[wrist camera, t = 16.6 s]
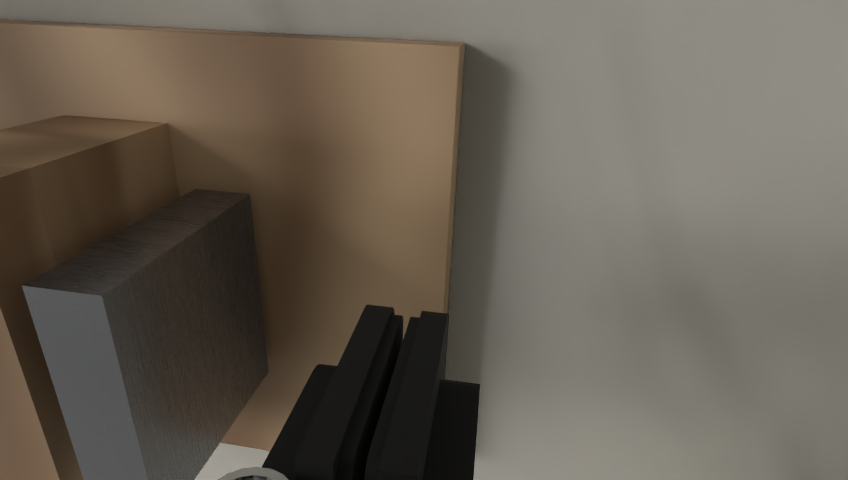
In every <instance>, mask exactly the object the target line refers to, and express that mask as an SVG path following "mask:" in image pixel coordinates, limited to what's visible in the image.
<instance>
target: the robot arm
mask: <svg viewBox="0 0 848 480" xmlns="http://www.w3.org/2000/svg"><path fill="white" fill-rule="evenodd" d="M448 322H449V314H447V313H438V312H430V311H422V312H421V315H420V318H419V317H410V320H409V323H408V326H407V329H406V333H405V336H404V339H403V316H402V315H395V312H394V308H393V307H386V306H377V305H366V306H365V308H364V310H363V312H362V314H361V316H360V318H359V321H358V323H357V325H356V327H355V329H354V331H353V333H352V336H351V338H350V340H349V342H348V344H347V346H346V348H345V350H344V353H343V355H342V357H341V359H340V361H339V363H338V365H337V366H333V365H325V364H318V365H317V366H316V367H315V368H314V370H313V371H312V373H311V375H310V377H309V379H308V381H307V383H306V385H305V386H304V388H303V390H302V392H301V394H300V396H299V398H298V400H297V402H296V404H295V405H294V407H293V409H292V411H291V413H290V415H289V417H288V419H287V421H286V422H285V424H284V426H283V428H282V430H281V432H280V434H279V436H278V438H277V439H276V441H275V443H274V445H273V447H272V449H271V451H270V453H269V455H268V456H267V458H266V460H265V462H264V464H263V466H262V467H253V468H244V469H240V470H237V471H234V472H231V473H229V474H226V475H225V476H223V477H221V478H220V479H218V480H473V475H474V461H475V447H476V433H477V418H478V404H479V390H480V384H474V383H466V382H458V381H450V380H444V377H445V364H446V350H447V336H448Z"/></svg>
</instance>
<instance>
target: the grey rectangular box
mask: <svg viewBox="0 0 848 480" xmlns="http://www.w3.org/2000/svg"><path fill="white" fill-rule="evenodd" d="M22 288H23V291H24V294H25V297H26V300H27V304H28V307H29V310H30V313H31V316H32V319H33V322H34V326H35V329H36V332H37V335H38V338H39V341H40V344H41V348H42V351H43V354H44V357H45V360H46V363H47V366H48V370H49V373H50V376H51V379H52V382H53V385H54V388H55V392H56V395H57V398H58V401H59V404H60V407H61V410H62V414H63V417H64V420H65V423H66V426H67V429H68V432H69V436H70V439H71V442H72V445H73V448H74V451H75V454H76V458H77V461H78V464H79V467H80V470H81V473H82V476H83V480H194V479H195V478H196V476H197V475H198V474H199V472H200V471H201V469H202V468H203V466H204V465H205V463H206V462H207V461H208V459H209V458H210V456H211V455H212V453H213V452H214V450H215V449H216V448H217V446H218V445H219V443H220V442H221V440H222V439H223V437H224V436H225V434H226V433H227V432H228V430H229V429H230V427H231V426H232V424H233V423H234V421H235V420H236V419H237V417H238V416H239V414H240V413H241V411H242V410H243V408H244V407H245V406H246V404H247V403H248V401H249V400H250V398H251V397H252V395H253V394H254V393H255V391H256V390H257V388H258V387H259V385H260V384H261V382H262V381H263V379H264V378H265V377H266V375H267V374H268V372H269V369H268V360H267V350H266V341H265V331H264V322H263V312H262V303H261V293H260V284H259V274H258V265H257V255H256V246H255V236H254V227H253V217H252V208H251V198H250V194H246V193H235V192H225V191H214V190H204V189H194V190H192V191H191V192H189V193H187V194H185V195H183V196H182V197H180V198H178V199H176V200H175V201H173V202H171V203H169V204H167V205H166V206H164V207H162V208H160V209H158V210H157V211H155V212H153V213H151V214H149V215H148V216H146V217H144V218H142V219H140V220H139V221H137V222H135V223H133V224H131V225H130V226H128V227H126V228H124V229H122V230H121V231H119V232H117V233H115V234H113V235H112V236H110V237H108V238H106V239H104V240H103V241H101V242H99V243H97V244H96V245H94V246H92V247H90V248H88V249H87V250H85V251H83V252H81V253H79V254H78V255H76V256H74V257H72V258H70V259H69V260H67V261H65V262H63V263H61V264H60V265H58V266H56V267H54V268H52V269H51V270H49V271H47V272H45V273H43V274H42V275H40V276H38V277H36V278H34V279H33V280H31V281H29V282H27V283H25V284H24V285H22Z"/></svg>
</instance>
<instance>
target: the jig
mask: <svg viewBox="0 0 848 480" xmlns="http://www.w3.org/2000/svg"><path fill="white" fill-rule="evenodd" d="M464 57H465V43H458V42H438V41H418V40H398V39H378V38H358V37H338V36H318V35H298V34H278V33H258V32H239V31H219V30H199V29H179V28H159V27H139V26H119V25H99V24H79V23H59V22H39V21H19V20H0V480H83V476H82V473H81V470H80V467H79V464H78V461H77V458H76V454H75V451H74V448H73V445H72V442H71V439H70V436H69V432H68V429H67V426H66V423H65V420H64V417H63V414H62V410H61V407H60V404H59V401H58V398H57V395H56V392H55V388H54V385H53V382H52V379H51V376H50V373H49V370H48V366H47V363H46V360H45V357H44V354H43V351H42V348H41V344H40V341H39V338H38V335H37V332H36V329H35V326H34V322H33V319H32V316H31V313H30V310H29V307H28V304H27V300H26V297H25V294H24V291H23V288H22V285H24V284H25V283H27V282H29V281H31V280H33V279H34V278H36V277H38V276H40V275H42V274H43V273H45V272H47V271H49V270H51V269H52V268H54V267H56V266H58V265H60V264H61V263H63V262H65V261H67V260H69V259H70V258H72V257H74V256H76V255H78V254H79V253H81V252H83V251H85V250H87V249H88V248H90V247H92V246H94V245H96V244H97V243H99V242H101V241H103V240H104V239H106V238H108V237H110V236H112V235H113V234H115V233H117V232H119V231H121V230H122V229H124V228H126V227H128V226H130V225H131V224H133V223H135V222H137V221H139V220H140V219H142V218H144V217H146V216H148V215H149V214H151V213H153V212H155V211H157V210H158V209H160V208H162V207H164V206H166V205H167V204H169V203H171V202H173V201H175V200H176V199H178V198H180V197H182V196H183V195H185V194H187V193H189V192H191V191H192V190H194V189H204V190H214V191H225V192H235V193H246V194H250V198H251V208H252V217H253V227H254V236H255V246H256V255H257V265H258V274H259V284H260V293H261V303H262V312H263V322H264V331H265V341H266V350H267V360H268V369H269V372H268V374H267V375H266V377H265V378H264V379H263V381H262V382H261V384H260V385H259V387H258V388H257V390H256V391H255V393H254V394H253V395H252V397H251V398H250V400H249V401H248V403H247V404H246V406H245V407H244V408H243V410H242V411H241V413H240V414H239V416H238V417H237V419H236V420H235V421H234V423H233V424H232V426H231V427H230V429H229V430H228V432H227V433H226V434H225V436H224V437H223V439H222V440H221V442H220V443H226V444H232V445H239V446H245V447H251V448H257V449H263V450H269V451H271V449H272V447H273V445H274V443H275V441H276V439H277V438H278V436H279V434H280V432H281V430H282V428H283V426H284V424H285V422H286V421H287V419H288V417H289V415H290V413H291V411H292V409H293V407H294V405H295V404H296V402H297V400H298V398H299V396H300V394H301V392H302V390H303V388H304V386H305V385H306V383H307V381H308V379H309V377H310V375H311V373H312V371H313V370H314V368H315V367H316V366H317V365H318V364H325V365H333V366H337V365H338V363H339V361H340V359H341V357H342V355H343V353H344V350H345V348H346V346H347V344H348V342H349V340H350V338H351V336H352V333H353V331H354V329H355V327H356V325H357V323H358V321H359V318H360V316H361V314H362V312H363V310H364V308H365V306H366V305H377V306H386V307H393V308H394V312H395V315H402V316H403V339H404V336H405V333H406V329H407V326H408V323H409V320H410V317H419V318H420V315H421V312H422V311H430V312H438V313H447V314H448V303H449V287H450V272H451V257H452V241H453V226H454V211H455V195H456V180H457V165H458V149H459V134H460V118H461V103H462V88H463V72H464Z"/></svg>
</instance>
